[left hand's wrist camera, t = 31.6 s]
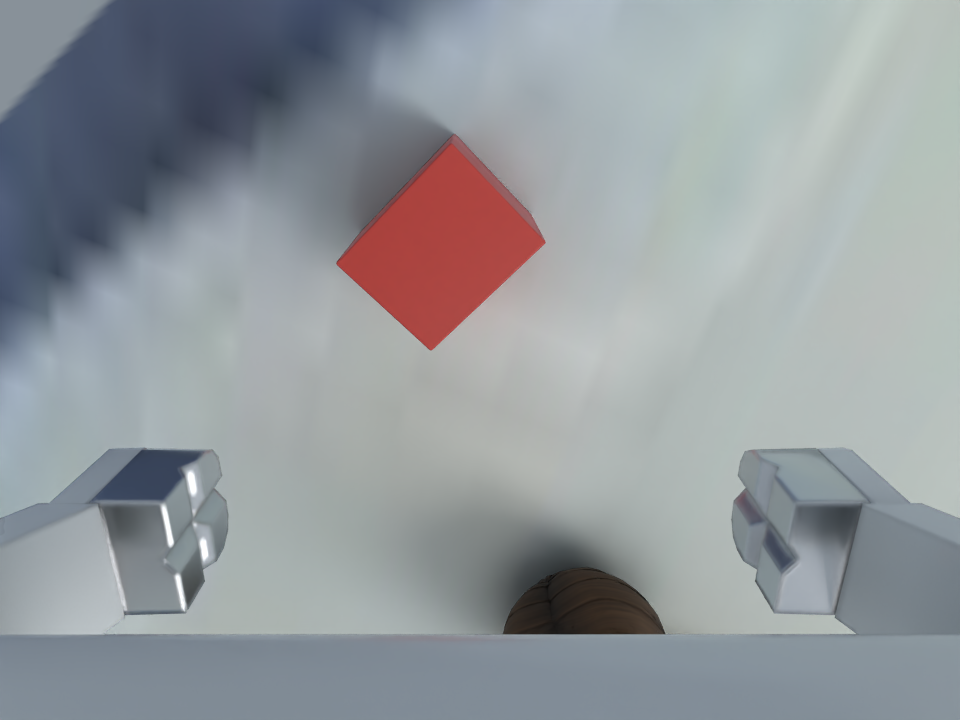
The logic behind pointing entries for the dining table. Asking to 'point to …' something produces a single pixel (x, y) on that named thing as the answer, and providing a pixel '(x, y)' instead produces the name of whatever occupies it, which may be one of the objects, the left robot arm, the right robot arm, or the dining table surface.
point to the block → (442, 244)
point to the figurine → (582, 606)
